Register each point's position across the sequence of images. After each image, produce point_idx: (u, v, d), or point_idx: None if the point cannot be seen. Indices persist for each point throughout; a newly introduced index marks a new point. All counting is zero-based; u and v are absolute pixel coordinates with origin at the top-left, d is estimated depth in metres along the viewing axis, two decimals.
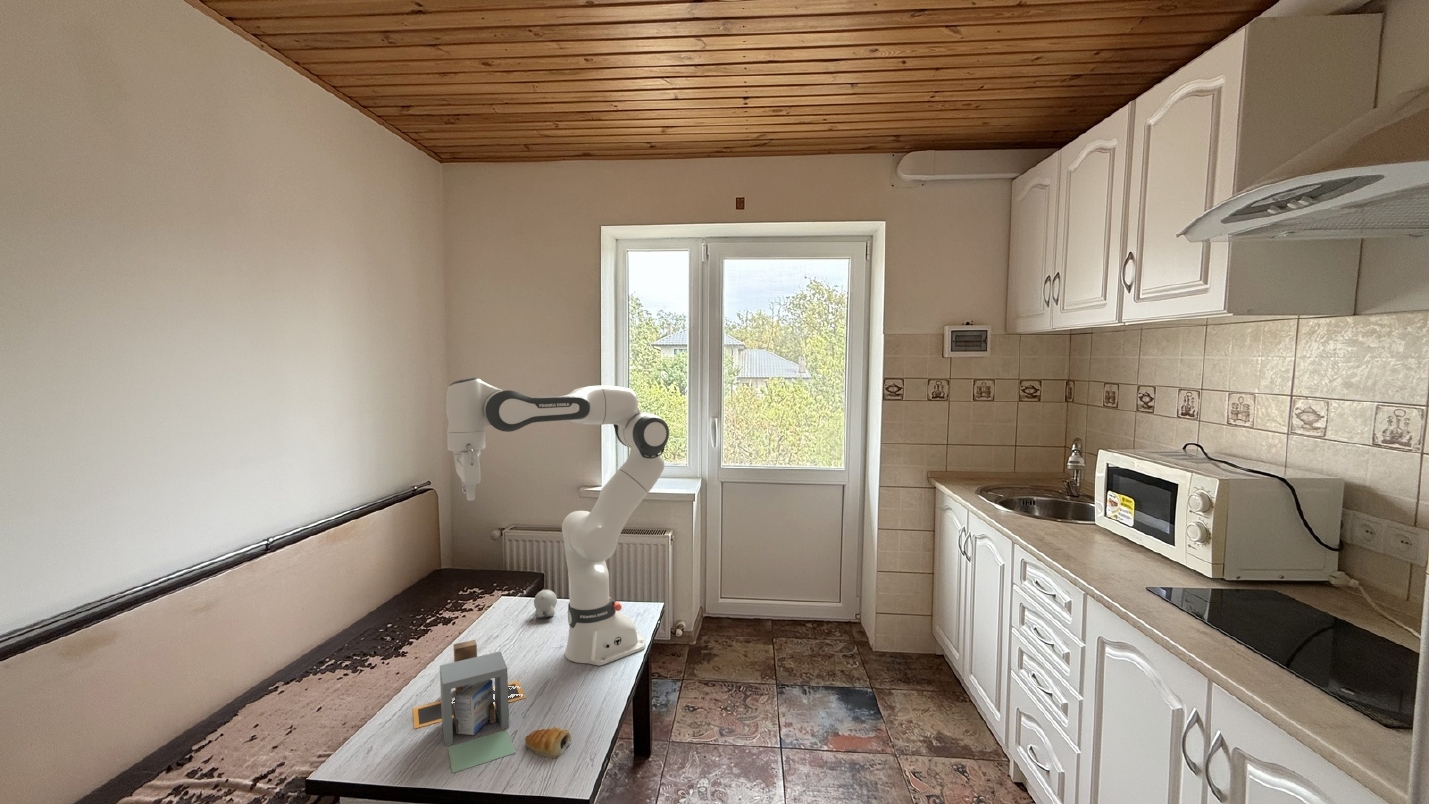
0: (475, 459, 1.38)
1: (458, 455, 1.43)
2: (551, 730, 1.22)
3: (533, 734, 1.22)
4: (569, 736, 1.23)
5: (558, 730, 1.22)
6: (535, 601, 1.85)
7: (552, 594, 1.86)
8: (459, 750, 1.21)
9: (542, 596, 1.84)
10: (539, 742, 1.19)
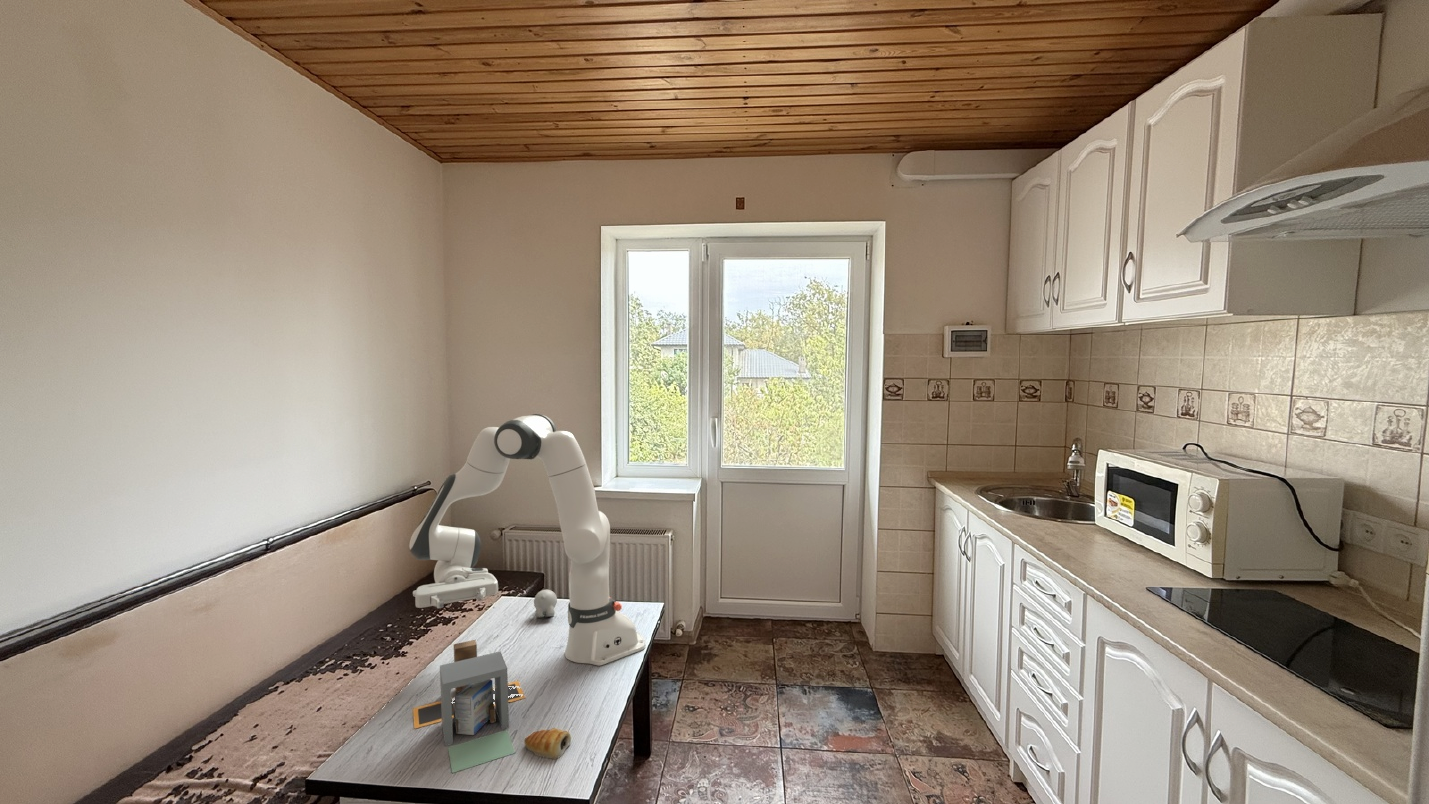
0: None
1: None
2: (551, 731, 1.22)
3: (533, 735, 1.22)
4: (569, 737, 1.22)
5: (558, 731, 1.22)
6: (535, 601, 1.85)
7: (552, 594, 1.87)
8: (459, 750, 1.21)
9: (542, 596, 1.84)
10: (539, 744, 1.19)
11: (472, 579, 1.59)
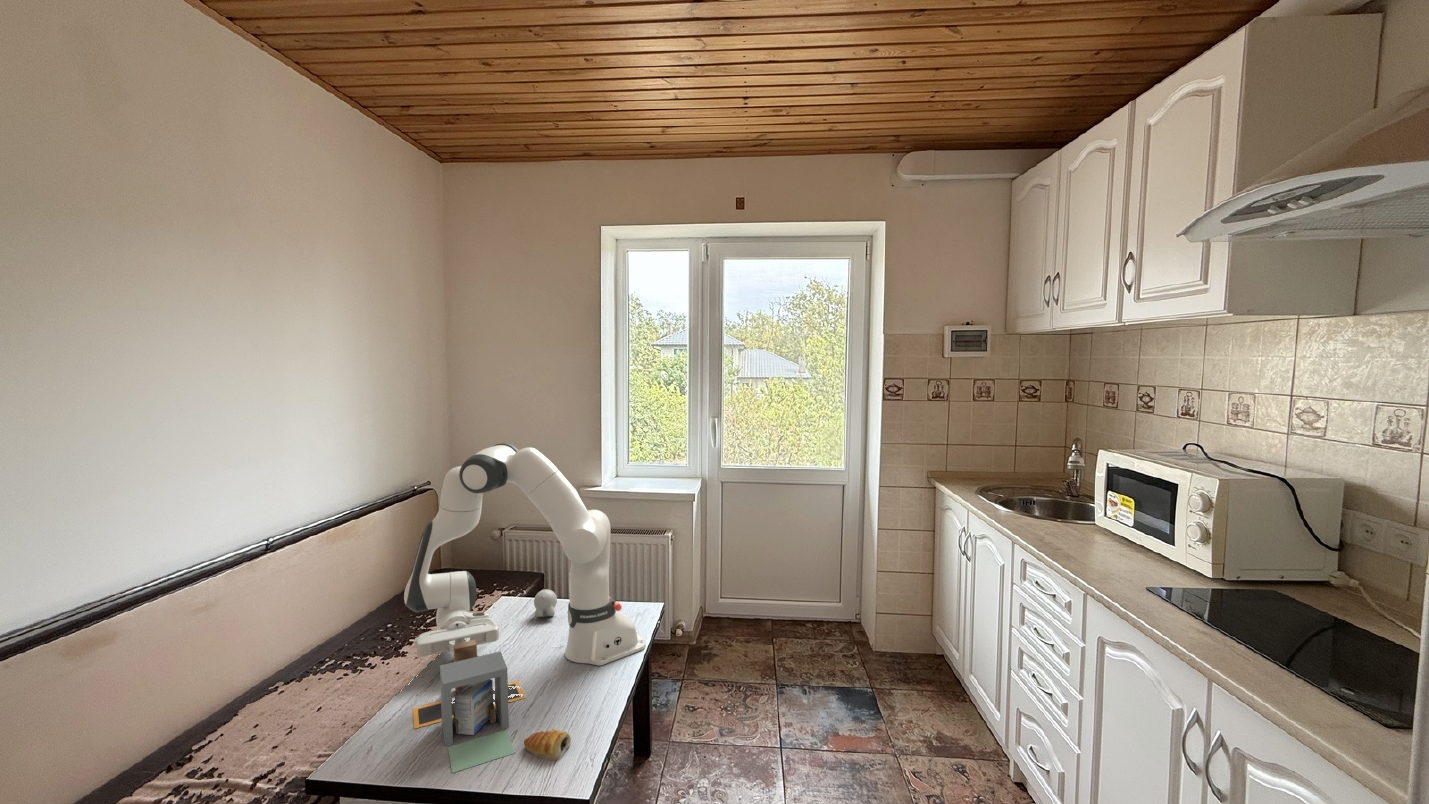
0: None
1: None
2: (550, 732, 1.21)
3: (532, 737, 1.21)
4: (569, 738, 1.22)
5: (557, 732, 1.21)
6: (535, 601, 1.85)
7: (552, 594, 1.87)
8: (459, 750, 1.21)
9: (542, 596, 1.84)
10: (539, 745, 1.18)
11: (473, 625, 1.60)
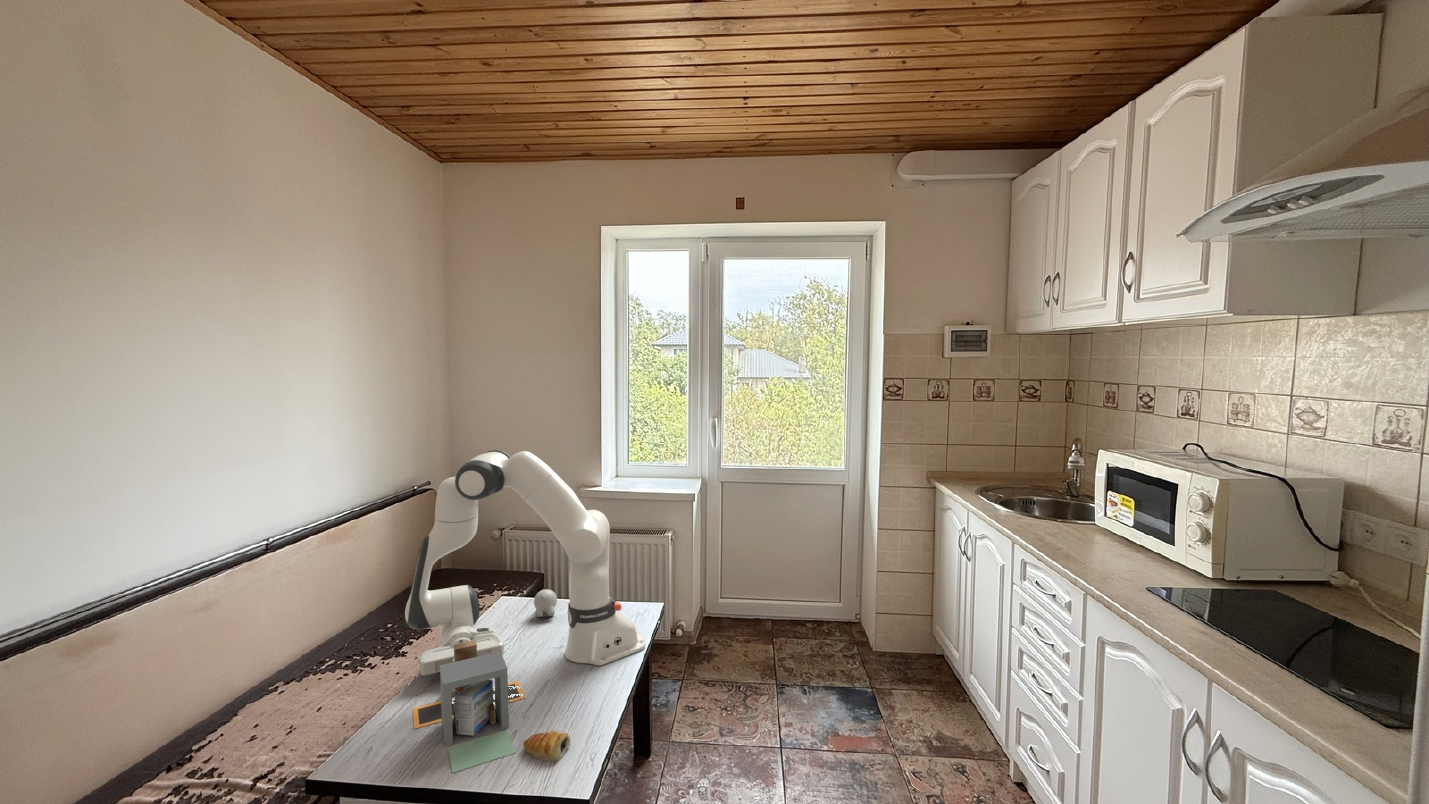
0: None
1: None
2: (550, 734, 1.21)
3: (531, 738, 1.21)
4: (568, 739, 1.22)
5: (557, 733, 1.21)
6: (535, 601, 1.85)
7: (552, 594, 1.87)
8: (459, 750, 1.21)
9: (542, 596, 1.85)
10: (539, 747, 1.18)
11: (477, 641, 1.56)
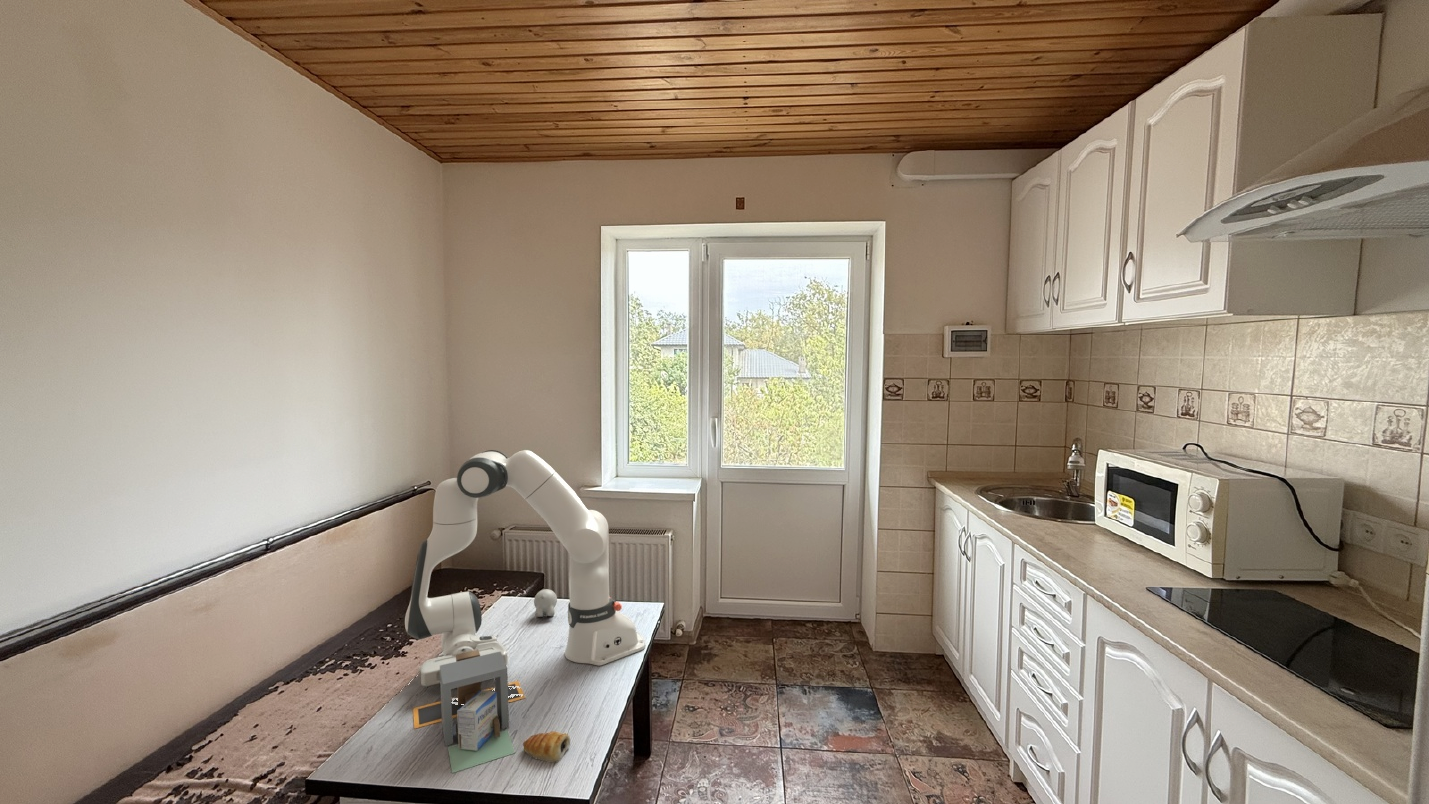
0: None
1: None
2: (550, 734, 1.20)
3: (531, 739, 1.20)
4: (568, 739, 1.21)
5: (557, 734, 1.21)
6: (535, 601, 1.85)
7: (552, 594, 1.87)
8: (459, 750, 1.21)
9: (542, 596, 1.85)
10: (539, 747, 1.18)
11: (480, 650, 1.51)
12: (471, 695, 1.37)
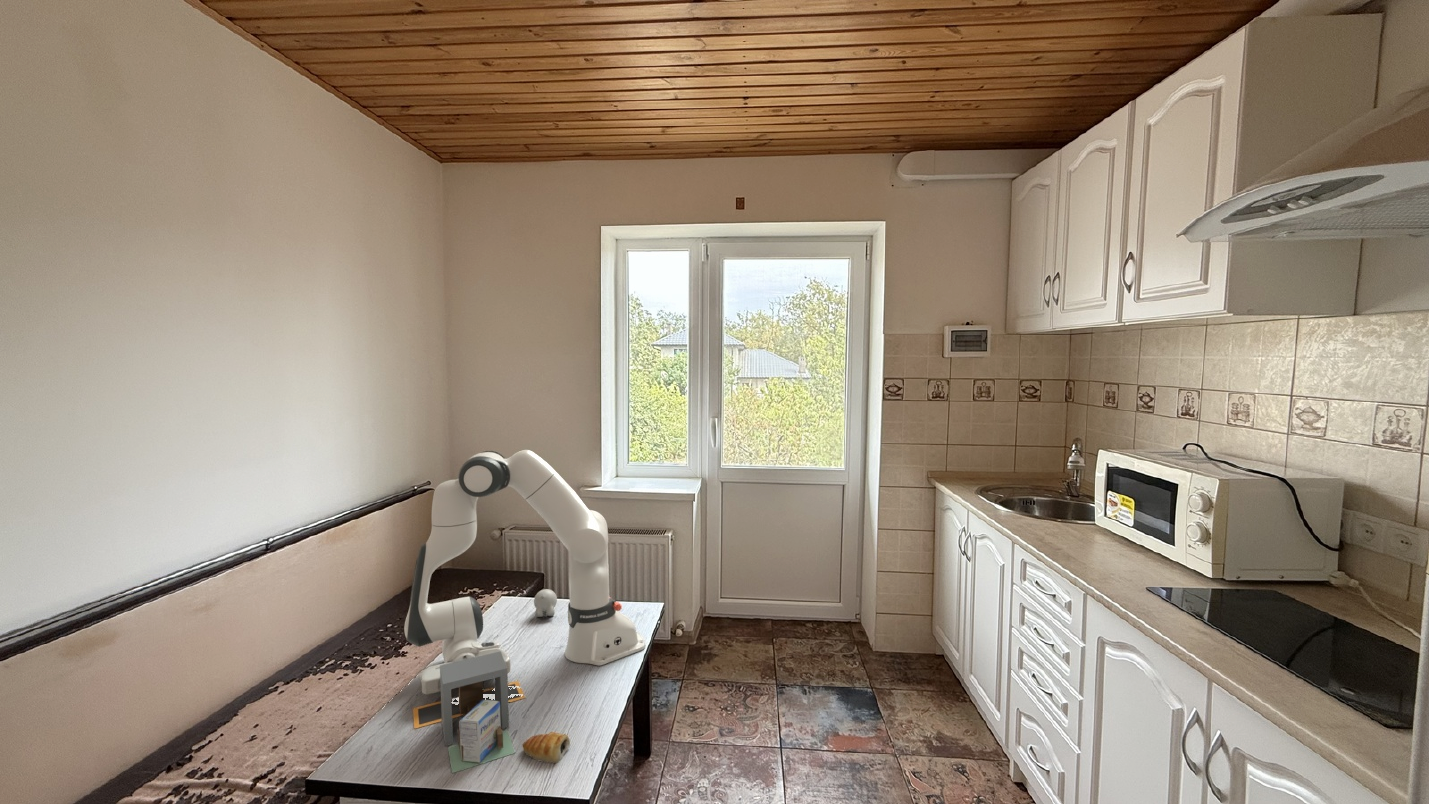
0: None
1: None
2: (549, 735, 1.20)
3: (531, 740, 1.20)
4: (568, 740, 1.21)
5: (557, 735, 1.21)
6: (535, 600, 1.85)
7: (552, 593, 1.87)
8: (459, 750, 1.21)
9: (542, 596, 1.85)
10: (538, 748, 1.17)
11: None
12: (473, 704, 1.33)
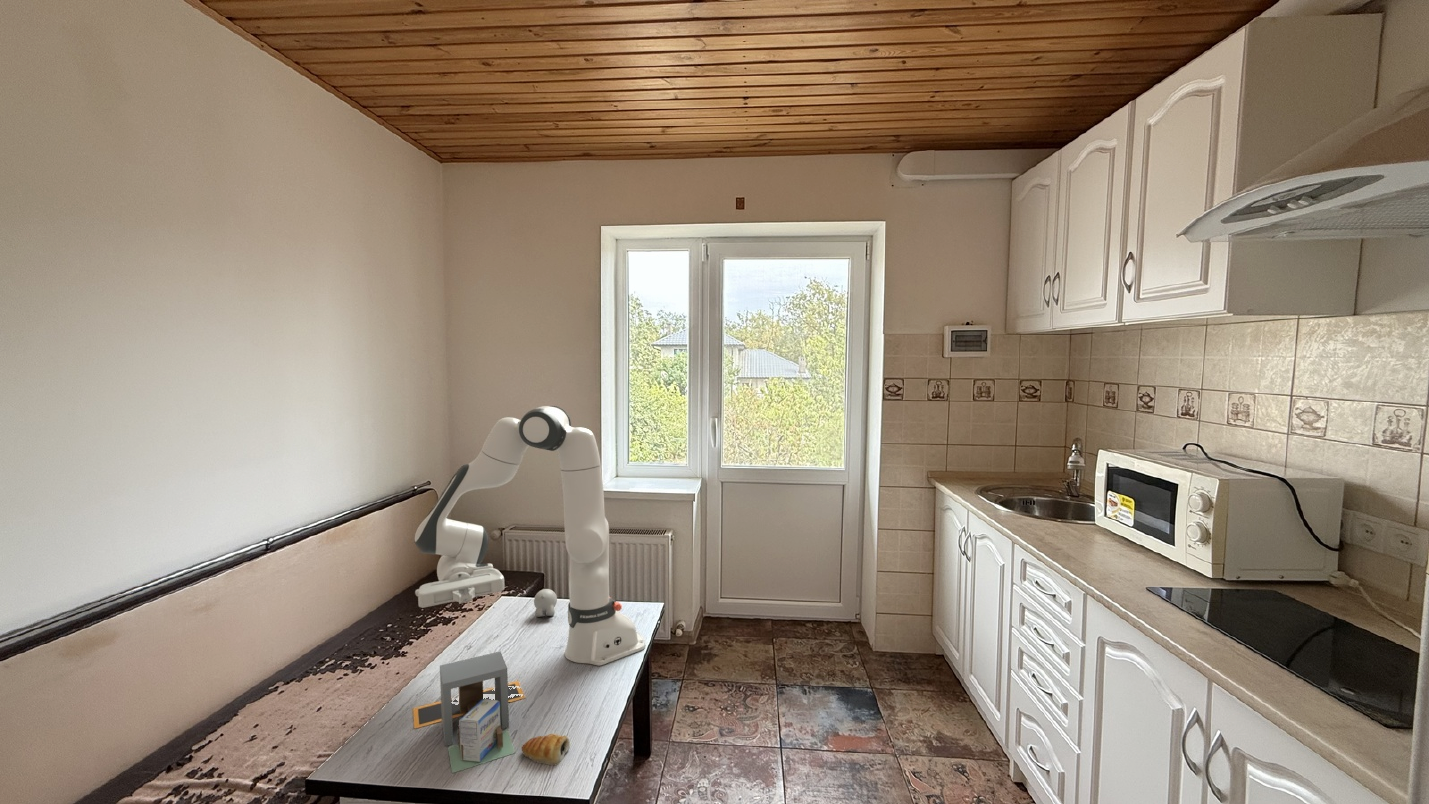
0: None
1: None
2: (549, 737, 1.20)
3: (530, 742, 1.19)
4: (567, 742, 1.21)
5: (556, 736, 1.20)
6: (535, 600, 1.85)
7: (552, 593, 1.87)
8: (459, 750, 1.21)
9: (542, 596, 1.85)
10: (538, 750, 1.17)
11: (477, 575, 1.52)
12: (473, 703, 1.33)
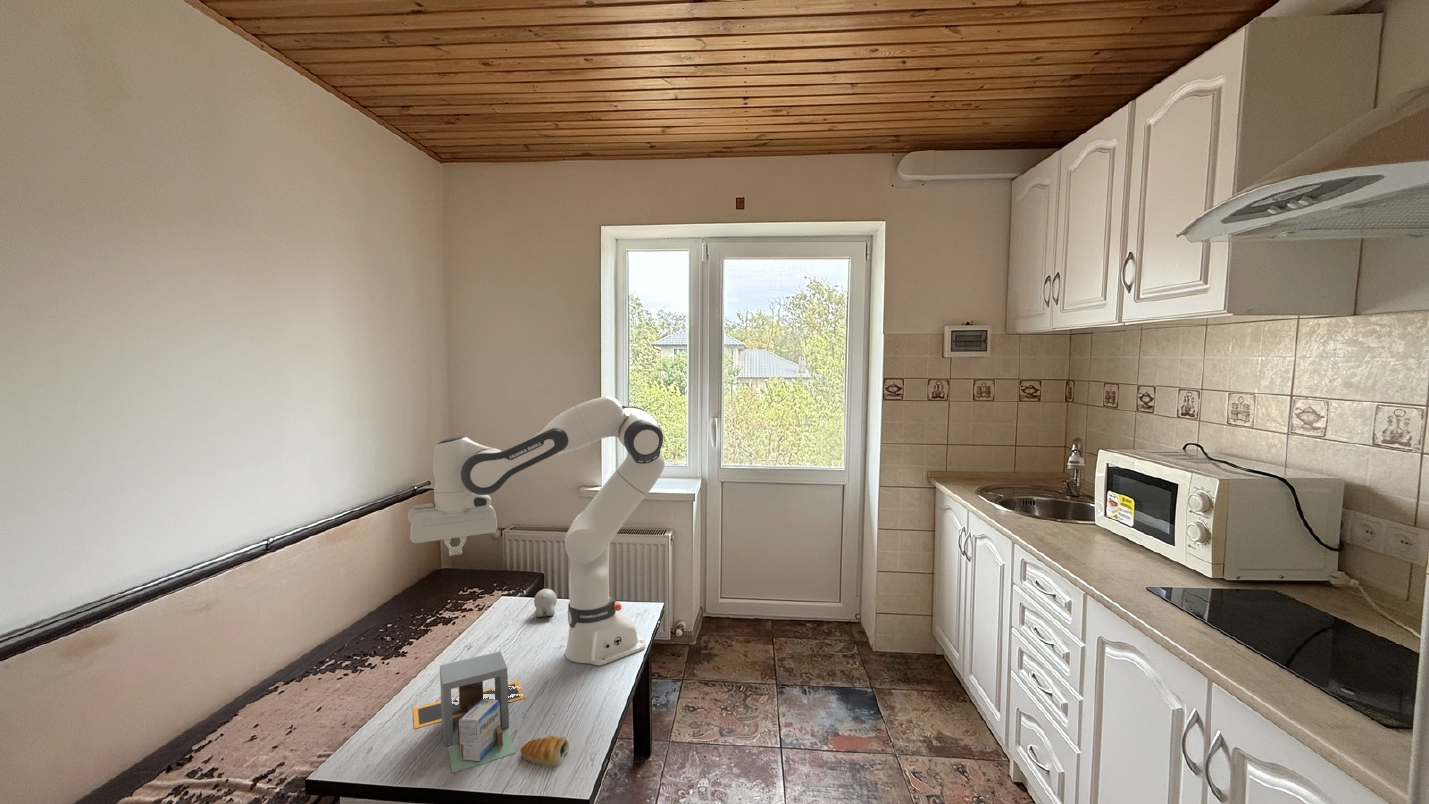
0: (412, 518, 1.41)
1: None
2: (548, 739, 1.19)
3: (529, 745, 1.19)
4: (567, 743, 1.20)
5: (555, 738, 1.20)
6: (535, 600, 1.86)
7: (552, 593, 1.87)
8: (459, 750, 1.21)
9: (542, 596, 1.85)
10: (538, 752, 1.16)
11: (472, 514, 1.47)
12: (473, 703, 1.34)
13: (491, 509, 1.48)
